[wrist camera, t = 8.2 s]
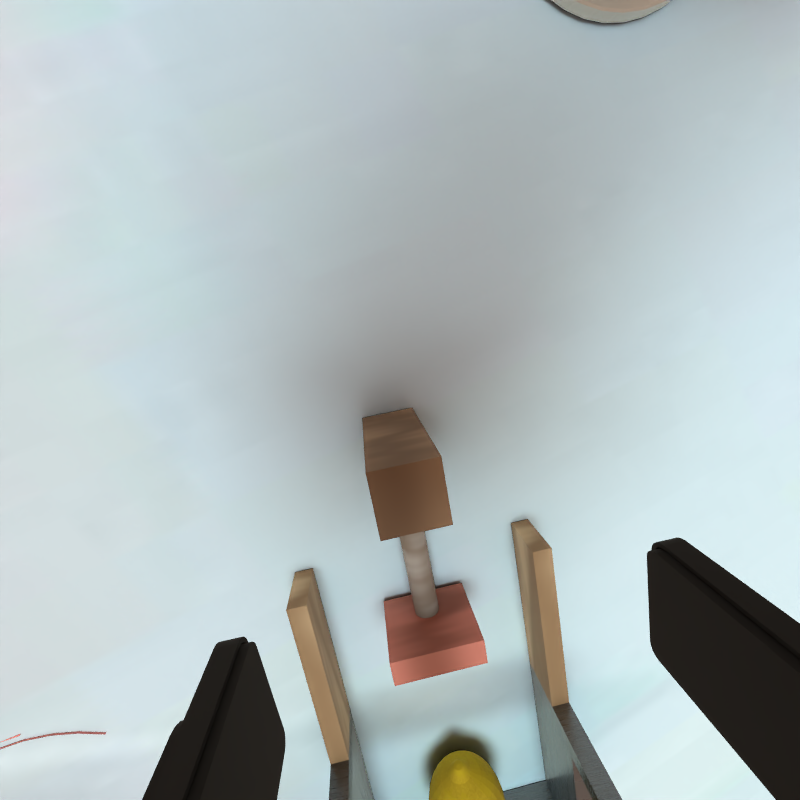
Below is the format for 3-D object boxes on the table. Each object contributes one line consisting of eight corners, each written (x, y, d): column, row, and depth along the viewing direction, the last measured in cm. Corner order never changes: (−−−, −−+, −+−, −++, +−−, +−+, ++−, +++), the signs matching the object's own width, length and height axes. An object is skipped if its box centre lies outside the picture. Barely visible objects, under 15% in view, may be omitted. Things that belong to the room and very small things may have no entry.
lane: (527, 519, 29) (551, 547, 25) (545, 658, 31) (569, 702, 28) (295, 572, 28) (286, 610, 24) (333, 712, 30) (330, 764, 27)
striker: (430, 403, 26) (469, 450, 17) (464, 601, 29) (511, 725, 20) (343, 421, 25) (336, 478, 17) (387, 620, 29) (402, 754, 20)
